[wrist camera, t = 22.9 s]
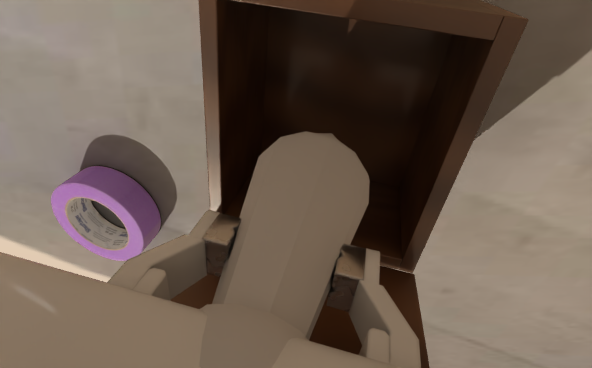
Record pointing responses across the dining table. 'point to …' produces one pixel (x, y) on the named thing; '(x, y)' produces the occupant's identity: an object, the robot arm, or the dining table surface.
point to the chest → (355, 97)
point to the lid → (336, 311)
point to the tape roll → (115, 196)
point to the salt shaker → (284, 249)
